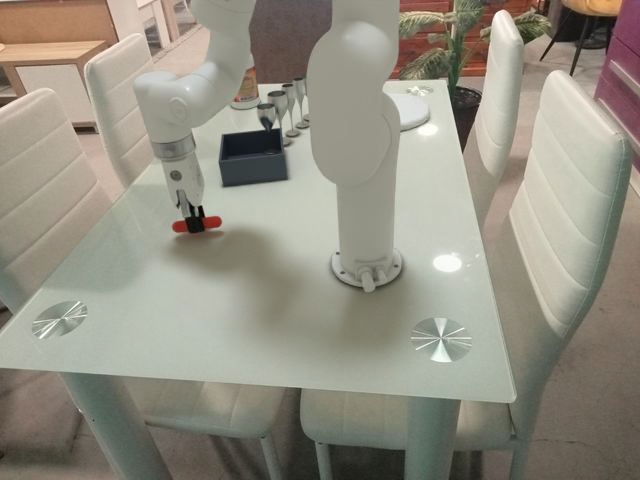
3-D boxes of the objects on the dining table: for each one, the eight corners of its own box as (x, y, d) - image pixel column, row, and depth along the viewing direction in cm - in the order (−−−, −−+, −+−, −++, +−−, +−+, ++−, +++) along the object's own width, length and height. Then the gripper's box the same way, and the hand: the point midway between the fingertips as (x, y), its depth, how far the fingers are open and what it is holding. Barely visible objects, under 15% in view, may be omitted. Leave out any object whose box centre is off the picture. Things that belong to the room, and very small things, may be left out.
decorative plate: (338, 120, 129) (344, 87, 148) (339, 134, 131) (345, 100, 151) (433, 118, 126) (426, 85, 145) (432, 133, 128) (425, 98, 148)
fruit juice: (225, 107, 153) (206, 12, 136) (243, 97, 159) (228, 5, 143) (248, 111, 149) (231, 14, 132) (266, 101, 155) (252, 7, 138)
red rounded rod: (223, 222, 98) (221, 212, 97) (222, 229, 96) (220, 219, 95) (174, 229, 98) (171, 219, 96) (173, 236, 96) (169, 226, 94)
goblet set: (276, 155, 122) (269, 105, 114) (257, 152, 125) (249, 103, 117) (324, 114, 142) (321, 69, 134) (307, 112, 144) (303, 67, 136)
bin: (287, 179, 114) (284, 154, 110) (223, 186, 113) (218, 162, 109) (284, 150, 126) (281, 127, 122) (226, 157, 125) (221, 134, 121)
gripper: (189, 161, 79) (213, 248, 90) (198, 123, 92) (218, 204, 103) (144, 167, 79) (174, 254, 90) (159, 128, 92) (184, 208, 103)
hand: (197, 226), depth 97 cm, fingers closed on red rounded rod, 2 cm apart
